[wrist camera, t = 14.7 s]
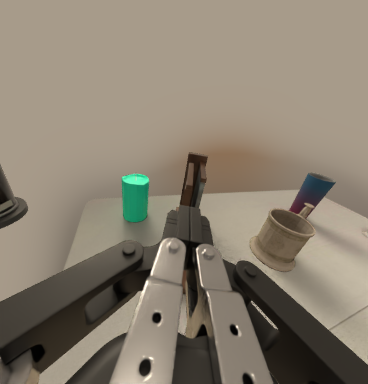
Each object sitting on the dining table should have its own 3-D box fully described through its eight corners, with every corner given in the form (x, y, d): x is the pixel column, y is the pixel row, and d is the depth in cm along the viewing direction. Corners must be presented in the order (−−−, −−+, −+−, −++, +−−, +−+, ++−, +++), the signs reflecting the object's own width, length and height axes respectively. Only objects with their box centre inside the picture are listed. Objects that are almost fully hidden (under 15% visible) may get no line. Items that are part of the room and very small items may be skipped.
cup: (312, 222, 50) (341, 182, 43) (297, 223, 48) (325, 181, 41) (294, 210, 56) (318, 173, 49) (280, 210, 54) (303, 172, 47)
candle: (123, 223, 36) (121, 178, 30) (122, 208, 41) (121, 167, 35) (149, 220, 39) (151, 178, 33) (145, 207, 43) (147, 167, 38)
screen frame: (159, 289, 25) (172, 199, 16) (175, 210, 44) (185, 151, 36) (195, 295, 25) (226, 209, 16) (196, 214, 44) (210, 155, 36)
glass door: (173, 248, 30) (185, 184, 23) (179, 214, 40) (189, 162, 33) (179, 249, 30) (193, 185, 23) (183, 215, 40) (194, 163, 33)
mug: (281, 279, 30) (316, 235, 24) (241, 243, 37) (261, 202, 31) (309, 253, 38) (340, 215, 32) (272, 227, 45) (292, 192, 39)
